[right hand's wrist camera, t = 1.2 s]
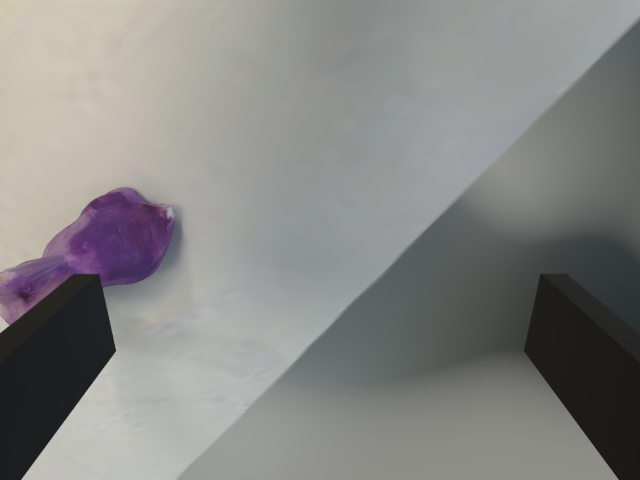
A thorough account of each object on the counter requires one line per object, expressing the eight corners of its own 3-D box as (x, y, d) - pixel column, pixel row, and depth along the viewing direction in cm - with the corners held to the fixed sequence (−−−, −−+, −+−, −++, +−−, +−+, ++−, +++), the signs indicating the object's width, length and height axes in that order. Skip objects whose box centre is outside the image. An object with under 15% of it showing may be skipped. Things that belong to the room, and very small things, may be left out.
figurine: (71, 268, 42) (-54, 365, 28) (81, 171, 38) (-57, 226, 24) (165, 293, 43) (90, 399, 29) (184, 201, 39) (109, 270, 25)
